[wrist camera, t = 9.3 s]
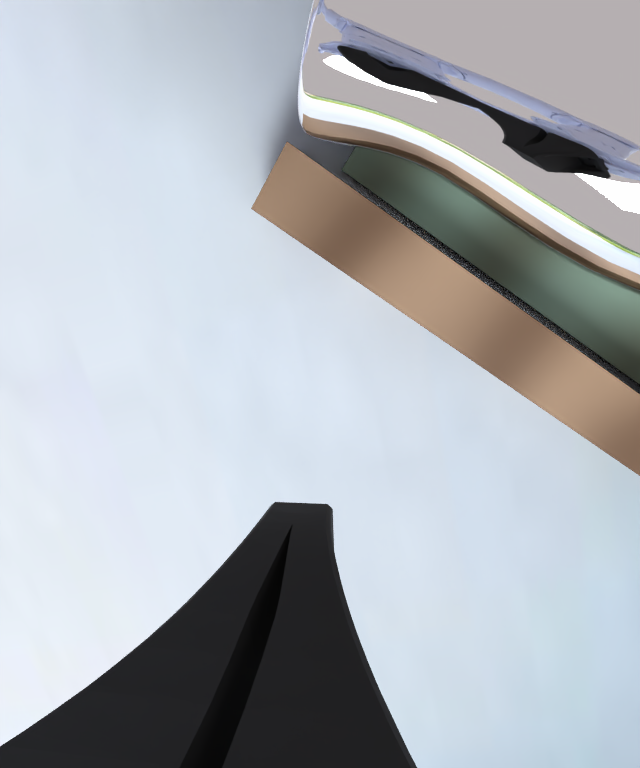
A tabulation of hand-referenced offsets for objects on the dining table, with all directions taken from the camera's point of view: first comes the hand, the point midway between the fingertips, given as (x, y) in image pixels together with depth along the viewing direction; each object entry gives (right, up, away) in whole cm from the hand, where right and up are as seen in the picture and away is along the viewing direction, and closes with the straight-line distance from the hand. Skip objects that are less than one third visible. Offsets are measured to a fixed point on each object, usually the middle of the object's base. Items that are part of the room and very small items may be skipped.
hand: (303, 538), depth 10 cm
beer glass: (+1, +14, +2) cm, 14 cm away
